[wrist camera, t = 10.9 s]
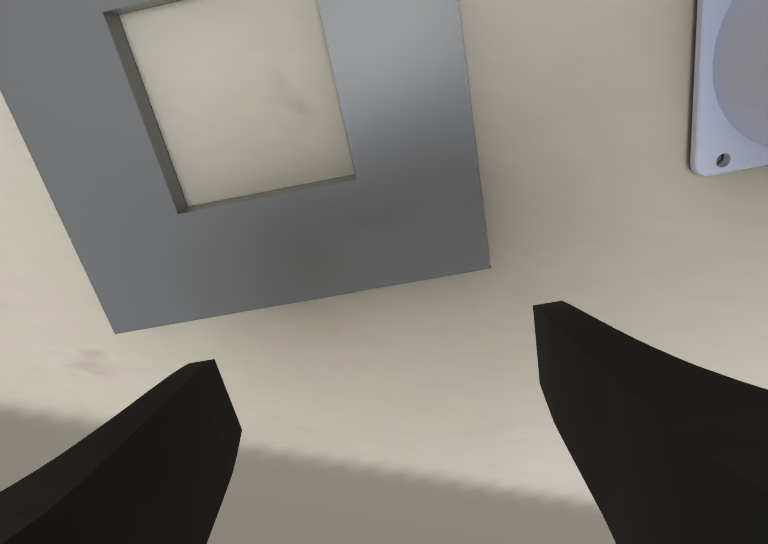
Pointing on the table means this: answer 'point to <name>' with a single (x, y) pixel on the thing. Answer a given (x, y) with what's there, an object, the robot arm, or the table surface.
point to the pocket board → (262, 210)
